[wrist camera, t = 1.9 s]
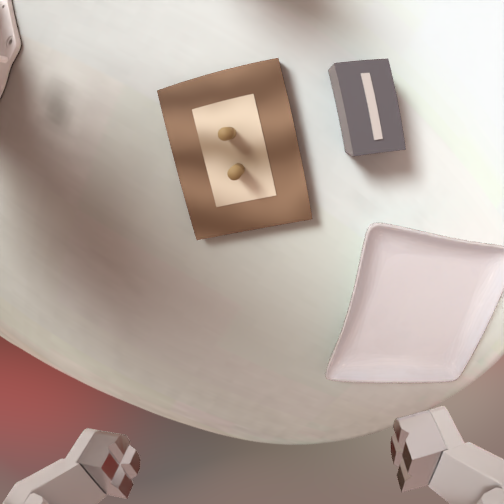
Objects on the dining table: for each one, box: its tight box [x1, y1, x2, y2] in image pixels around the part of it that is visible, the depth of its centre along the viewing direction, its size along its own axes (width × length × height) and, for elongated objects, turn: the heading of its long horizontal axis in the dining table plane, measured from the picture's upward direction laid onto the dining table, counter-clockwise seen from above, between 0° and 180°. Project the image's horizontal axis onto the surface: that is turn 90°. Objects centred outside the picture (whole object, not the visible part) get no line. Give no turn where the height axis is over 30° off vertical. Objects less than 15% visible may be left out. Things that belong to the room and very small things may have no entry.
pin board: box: [157, 58, 312, 240], centre depth 29 cm, size 16×12×4 cm
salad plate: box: [326, 223, 504, 383], centre depth 34 cm, size 21×21×3 cm
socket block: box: [328, 59, 406, 156], centre depth 26 cm, size 8×5×4 cm, turn 13°
